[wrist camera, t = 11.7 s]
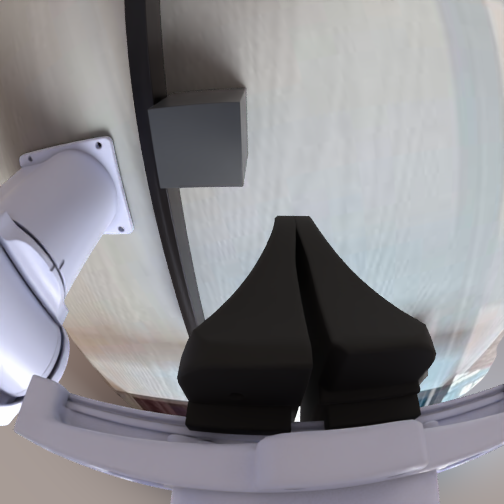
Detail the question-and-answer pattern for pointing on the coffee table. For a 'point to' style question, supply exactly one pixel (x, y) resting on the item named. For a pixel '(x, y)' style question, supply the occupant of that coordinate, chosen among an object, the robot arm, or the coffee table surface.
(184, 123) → the block charcoal
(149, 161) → the straightedge
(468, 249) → the coffee table surface
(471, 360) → the coffee table surface
